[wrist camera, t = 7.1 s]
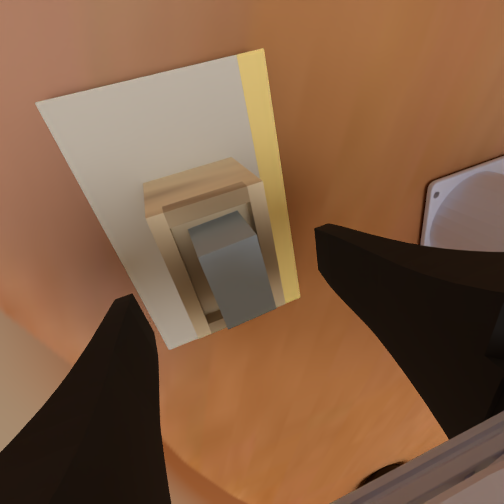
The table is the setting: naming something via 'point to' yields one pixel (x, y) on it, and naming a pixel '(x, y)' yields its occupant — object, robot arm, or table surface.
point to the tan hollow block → (198, 212)
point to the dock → (171, 161)
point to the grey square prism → (233, 268)
